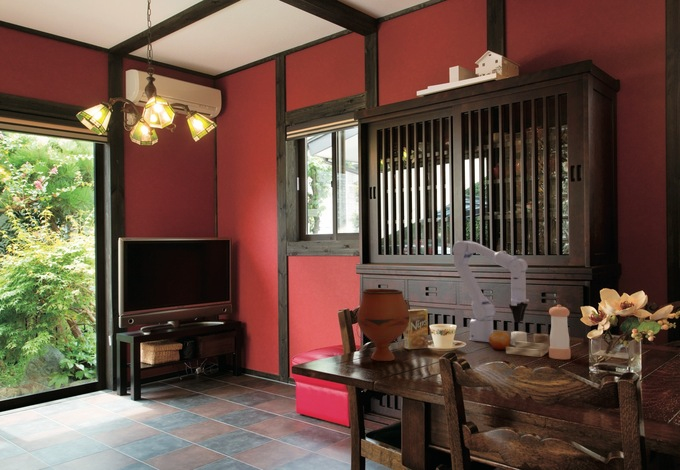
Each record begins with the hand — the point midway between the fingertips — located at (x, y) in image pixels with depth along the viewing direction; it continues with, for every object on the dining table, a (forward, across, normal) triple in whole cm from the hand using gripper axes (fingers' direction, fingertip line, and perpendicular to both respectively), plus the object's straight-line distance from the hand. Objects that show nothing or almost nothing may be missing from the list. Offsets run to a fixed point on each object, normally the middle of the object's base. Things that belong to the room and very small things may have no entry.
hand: (518, 321), depth 223 cm
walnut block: (+10, -1, -9) cm, 13 cm away
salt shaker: (+10, -17, -19) cm, 27 cm away
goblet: (+10, -52, +35) cm, 63 cm away
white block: (+10, 0, 0) cm, 10 cm away
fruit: (+10, -13, +4) cm, 17 cm away
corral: (+9, -13, -7) cm, 18 cm away
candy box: (+10, -28, +33) cm, 44 cm away
